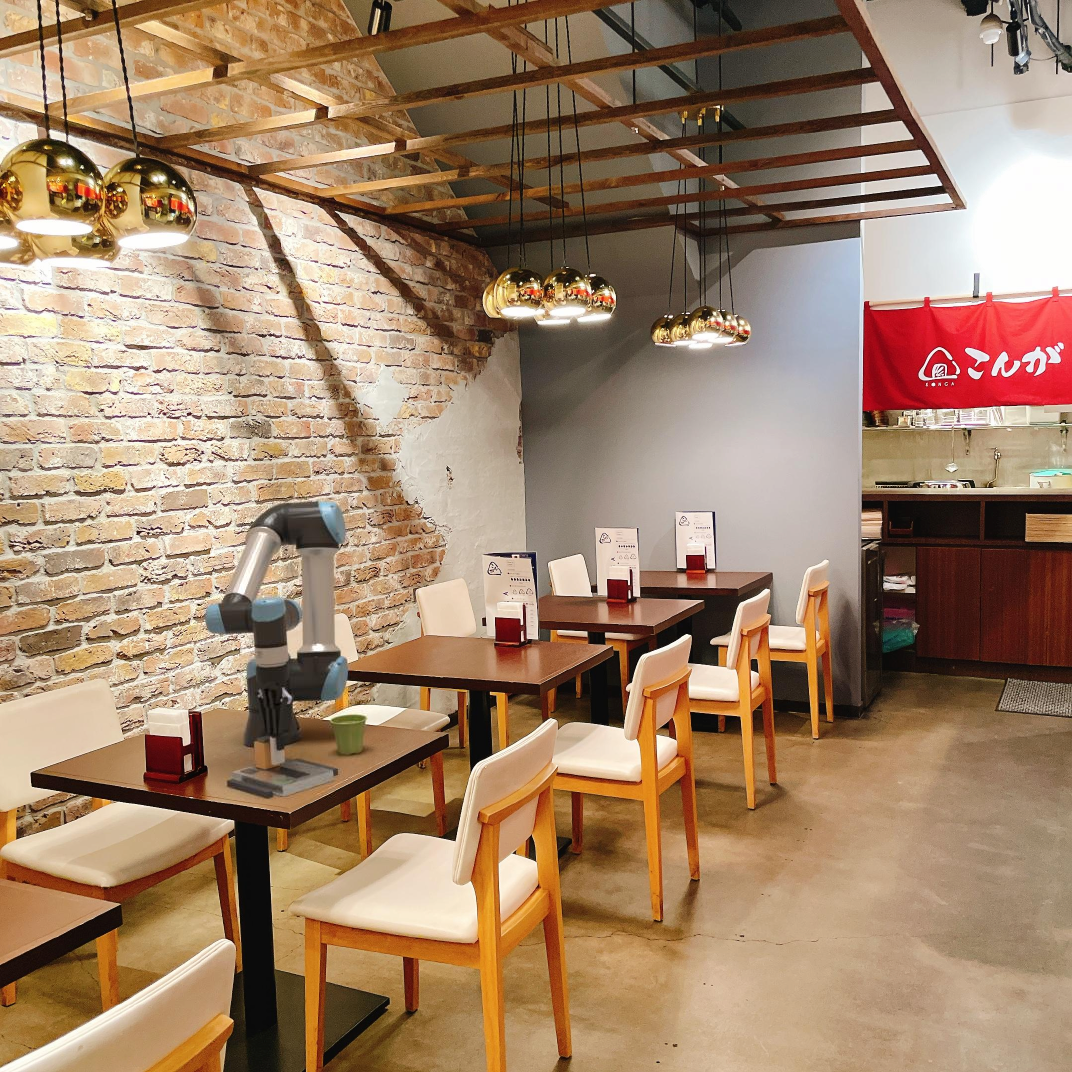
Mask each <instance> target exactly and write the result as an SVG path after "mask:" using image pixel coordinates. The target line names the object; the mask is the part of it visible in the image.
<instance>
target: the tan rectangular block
mask: <svg viewBox="0 0 1072 1072" xmlns="http://www.w3.org/2000/svg"><path fill="white" fill-rule="evenodd" d="M253 748H254V763H255V764H254V765H255V766H256V767H258V768H262V769H269V768H272V767H275V766H279V765H280V764H277V765H273V764H271V749H270V741H269V736H264V737H260V738H257V741H256V742H254V747H253Z"/></svg>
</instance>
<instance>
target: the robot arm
mask: <svg viewBox="0 0 1072 1072" xmlns="http://www.w3.org/2000/svg"><path fill="white" fill-rule="evenodd" d="M346 536H347V531H346V523H345V519H344V514H343V511H342V508H341V507H340V506H339V505H338V503H336V502H334V501H326V500H325V501H323V500H318V501H304V502H302V501H301V502H283V503H282V502H281V503H278V504H276V505H274V506H271V507H270V508H268V509H267V510H265V511H264V512H262V513H261V514H260V515H258V516H257V518H256V519H254V520H253V522H252V523H251V525H250V526H249V528H248V530H247V532H246V535H245V546H244V550H243V552H242V553H241V556H240V558H239V560H238V563H237V566H236V568H235V571H234V572H233V575H232V578H231V579H230V582H229V584H228V586H227V589H226V591H225V593H224V596H223V597H222V600H221V601H220V602H215V603H211V604H210V605H208V606H207V607H206V610H205V613H204V614H205V616H204V619H205V621H204V622H205V625H206V626H205V627H206V629H207V631H208V632H209V633H210V634H214V635H231V634H232V635H237V634H238V635H239V634H253V646H254V658H253V659H251V660H250V661H248V662H247V663H246V677H245V679H246V686H247V688H246V689H247V701H248V702H247V703H248V717H247V721H246V724H245V729H244V732H243V744H244V745H246V746H248V747H251V748H252V747H253V748H254V742H256V741H257V738H260V737H264V736H269V741H270V749H271V764H273V765H277V764H280V763H284V762H285V745H289V744H292V743H295V742H297V741H299V740H300V739H302V729H301V726H300V724H299V721H298V719H297V716H296V713H295V711H294V703H295V702H327V701H335V700H338V699H340V698H341V697H342V696H343V694H344V692H345V689H346V686H347V682H348V675H349V674H348V673H349V664H348V659H347V657H345V656H343V655H342V654H341V653H342V651H341V649H340V648H339V646H337V645H336V638H335V636H336V632H335V627H336V626H335V624H336V623H335V577H334V576H335V568H334V567H335V560H334V557H335V556H336V554H337V553H339V551H340V544H343V543H345V542H346V539H347V538H346ZM284 546H295V552H296V553H297V555H299V556H300V557H301V598H302V599H301V600H302V601H301V605H300V604H299V602H297V601H295V600H294V599H289V598H285V599H284V598H283V597H280V596H269V597H268V596H267V597H261V598H257V597H258V595H259V593H260V590H261V588H262V585H263V583H264V580H265V577H266V575H267V572H268V570H269V567H270V564H272V563H271V562H272V559H273V558H274V555H276V554H277V553H278V552H279V551H280V550H281V547H284ZM301 622H302V627H301V628H302V645H301V647H299V649H298V650H297V651H296V657H295V658H292V657H291V654H290V653H289V646H288V645H289V644H288V633H287V632H291V631H292V630H294V629H295V628H296V627H297V626H298V625H299V624H300V623H301Z"/></svg>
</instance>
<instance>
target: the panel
mask: <svg viewBox="0 0 1072 1072" xmlns="http://www.w3.org/2000/svg"><path fill="white" fill-rule="evenodd" d="M334 778H335V777H334V776H333V770H330V769H326V768H322V767H318V766H314V765H310V764H306V763H302V762H298V761H294V760H293V759H290V758H285V762H284V763H280V765H279V766H275V767H272V768H269V769H262V768H258V767H256V766H255V764H254V765H251V766H247V767H244V768H241V769H236V770H234V771H231V779H234V780H238V781H241V782H244V783H248V784H251V785H255V786H258V787H262V788H265V789H269V790H272V791H273V795H277V796H278V797H282V798H283V797H284V798H285V797H287V796H290V795H293V794H296V793H299V792H303V791H306V790H309V789H311V788H315V787H317V786H320V785H324V784H327V783H331V782H333V781H334V780H335V779H334Z"/></svg>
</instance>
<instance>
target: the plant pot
mask: <svg viewBox="0 0 1072 1072" xmlns="http://www.w3.org/2000/svg"><path fill="white" fill-rule="evenodd" d="M367 720H368V717H367V716H366V715H364V714H357V713H355V714H352V713H351V714H342V715H338V716H335V717H332V718H330V719H329V722H330V724H331V726H332V728H333V732H334V733H333V734H334V737H335V743H336V747H337V753H339V755H342V756H344V755H345V756H349V755H352V754H356V755H357V754H359V753H362V751H363V747H364V746H363V744H364V733H365V725H366V721H367Z"/></svg>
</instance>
